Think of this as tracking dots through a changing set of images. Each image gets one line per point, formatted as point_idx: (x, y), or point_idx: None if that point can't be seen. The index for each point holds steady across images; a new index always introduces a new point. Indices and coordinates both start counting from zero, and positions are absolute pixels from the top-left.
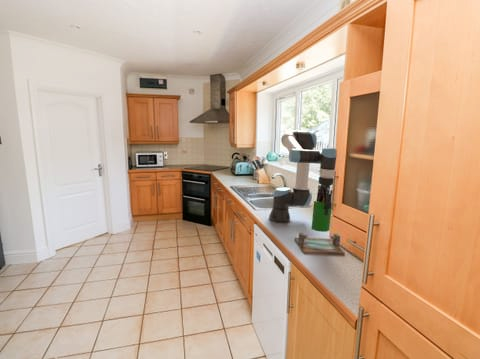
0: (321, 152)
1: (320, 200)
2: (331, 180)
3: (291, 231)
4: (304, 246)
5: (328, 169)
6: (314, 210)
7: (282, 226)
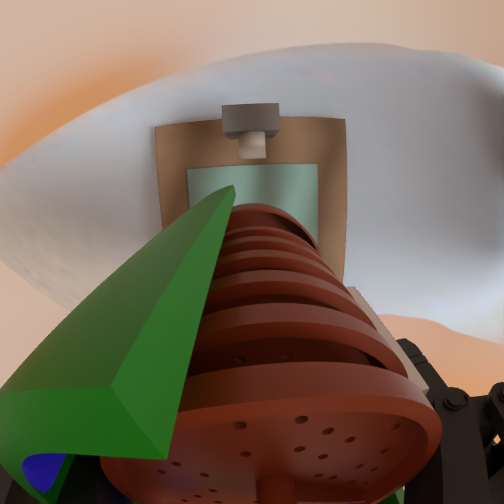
0: None
1: (426, 493)
2: None
3: (444, 150)
4: (217, 141)
5: None
6: (166, 231)
7: (486, 131)
